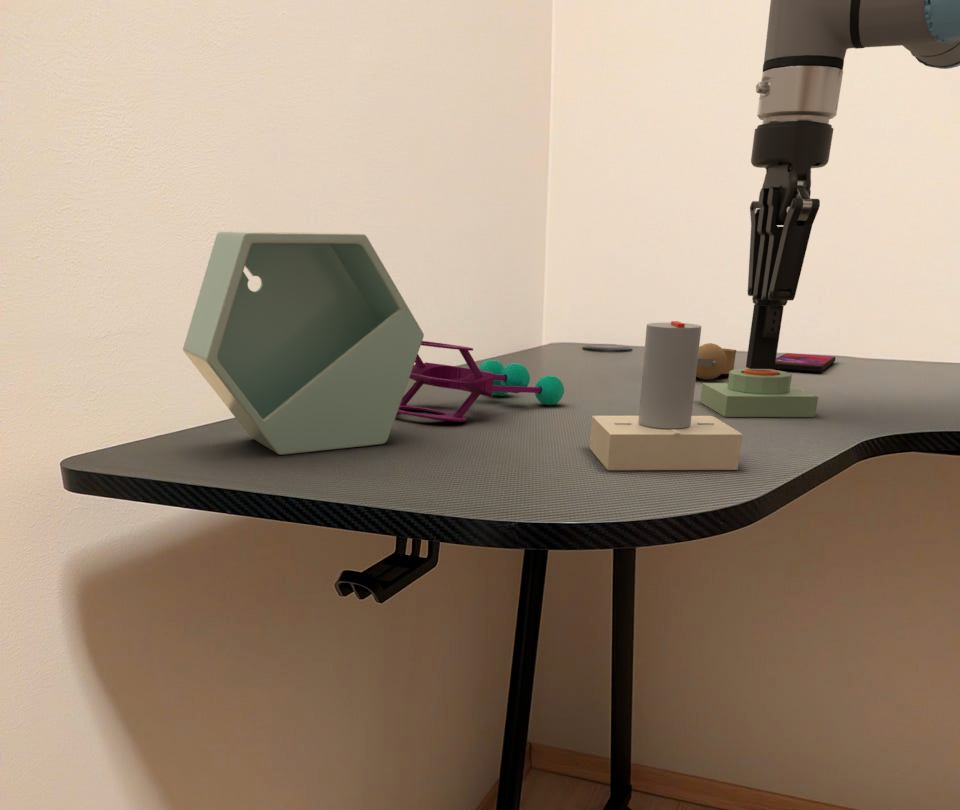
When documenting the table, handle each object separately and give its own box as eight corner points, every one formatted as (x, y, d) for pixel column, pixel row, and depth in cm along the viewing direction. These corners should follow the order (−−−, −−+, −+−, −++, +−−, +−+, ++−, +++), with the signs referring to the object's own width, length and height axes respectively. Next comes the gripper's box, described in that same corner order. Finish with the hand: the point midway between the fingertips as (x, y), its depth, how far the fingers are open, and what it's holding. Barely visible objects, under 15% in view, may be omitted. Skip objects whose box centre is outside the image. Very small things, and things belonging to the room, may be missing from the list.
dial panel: (707, 448, 83) (712, 413, 82) (739, 471, 75) (744, 432, 74) (589, 448, 82) (591, 413, 81) (608, 471, 74) (611, 432, 73)
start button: (768, 384, 102) (770, 368, 102) (780, 389, 99) (782, 372, 98) (737, 384, 102) (739, 367, 101) (748, 389, 99) (750, 372, 98)
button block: (783, 402, 106) (789, 367, 104) (815, 417, 98) (821, 379, 96) (700, 402, 105) (704, 366, 104) (724, 417, 97) (729, 378, 96)
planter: (315, 502, 81) (159, 299, 68) (286, 482, 87) (137, 292, 75) (454, 385, 84) (328, 169, 71) (416, 373, 90) (294, 173, 77)
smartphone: (837, 356, 140) (822, 366, 128) (835, 362, 140) (821, 372, 128) (785, 352, 143) (766, 362, 131) (784, 358, 143) (765, 368, 131)
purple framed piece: (569, 421, 102) (578, 356, 100) (437, 421, 89) (443, 346, 86) (492, 406, 110) (498, 345, 108) (361, 404, 97) (364, 335, 94)
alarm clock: (741, 349, 129) (728, 339, 115) (736, 385, 130) (723, 380, 116) (663, 344, 132) (641, 335, 119) (658, 379, 134) (637, 374, 120)
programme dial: (633, 418, 79) (641, 318, 76) (682, 418, 79) (693, 318, 76) (645, 428, 75) (654, 323, 72) (697, 429, 76) (708, 324, 72)
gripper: (736, 127, 96) (708, 359, 105) (782, 114, 84) (746, 376, 94) (805, 129, 96) (771, 360, 106) (860, 116, 84) (817, 377, 94)
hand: (760, 367), depth 100 cm, fingers closed
